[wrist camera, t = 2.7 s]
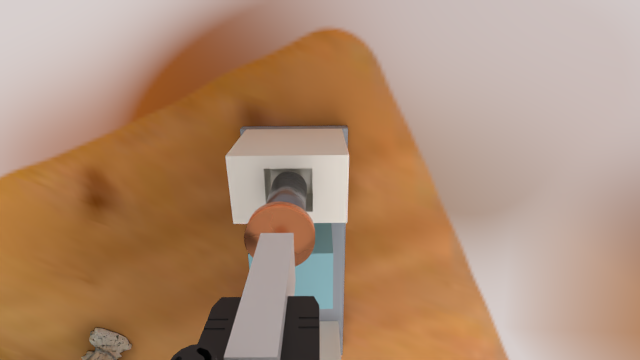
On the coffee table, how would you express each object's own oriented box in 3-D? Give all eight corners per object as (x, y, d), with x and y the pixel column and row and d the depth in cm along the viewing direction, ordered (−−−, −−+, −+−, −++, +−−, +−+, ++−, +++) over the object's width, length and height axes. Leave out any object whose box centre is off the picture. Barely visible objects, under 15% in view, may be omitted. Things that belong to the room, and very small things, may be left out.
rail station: (263, 348, 39) (251, 419, 32) (242, 126, 30) (217, 156, 22) (341, 347, 40) (347, 418, 32) (347, 125, 30) (356, 154, 22)
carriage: (266, 253, 33) (253, 309, 26) (263, 206, 31) (248, 254, 24) (329, 252, 33) (332, 308, 26) (329, 205, 31) (333, 253, 24)
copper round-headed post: (265, 211, 24) (247, 269, 18) (261, 163, 23) (240, 208, 17) (315, 210, 24) (315, 268, 18) (315, 162, 23) (314, 208, 17)
